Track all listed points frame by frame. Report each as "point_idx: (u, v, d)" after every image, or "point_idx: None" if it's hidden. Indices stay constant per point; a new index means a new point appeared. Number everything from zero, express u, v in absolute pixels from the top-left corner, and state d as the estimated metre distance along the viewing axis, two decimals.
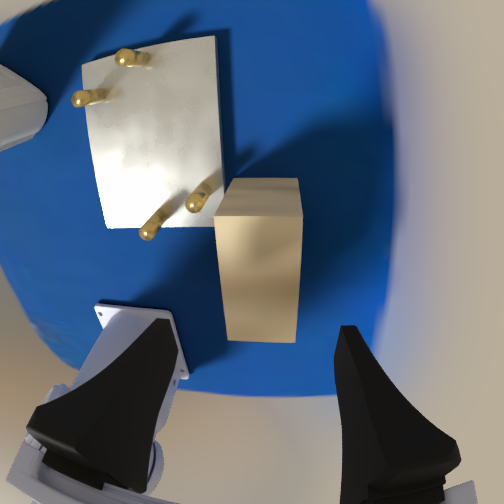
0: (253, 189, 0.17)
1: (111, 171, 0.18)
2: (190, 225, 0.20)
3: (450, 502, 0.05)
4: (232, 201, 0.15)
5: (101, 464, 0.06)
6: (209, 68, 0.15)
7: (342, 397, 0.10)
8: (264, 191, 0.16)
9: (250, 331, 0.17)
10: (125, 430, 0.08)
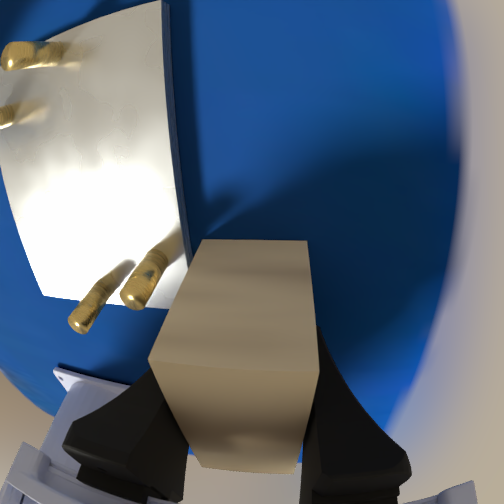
0: (231, 275, 0.10)
1: (33, 224, 0.11)
2: None
3: (450, 502, 0.05)
4: (188, 311, 0.08)
5: (148, 478, 0.06)
6: (151, 56, 0.08)
7: None
8: (248, 283, 0.09)
9: (231, 465, 0.10)
10: (167, 440, 0.08)
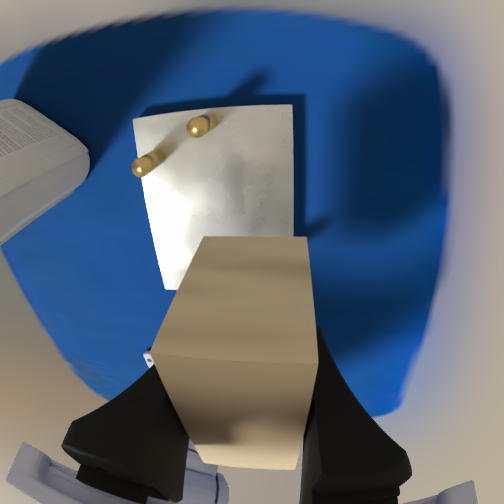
0: (231, 270, 0.10)
1: (173, 237, 0.19)
2: None
3: (450, 502, 0.05)
4: (189, 305, 0.08)
5: (147, 478, 0.06)
6: (286, 141, 0.15)
7: None
8: (249, 278, 0.09)
9: (233, 460, 0.10)
10: (167, 440, 0.08)
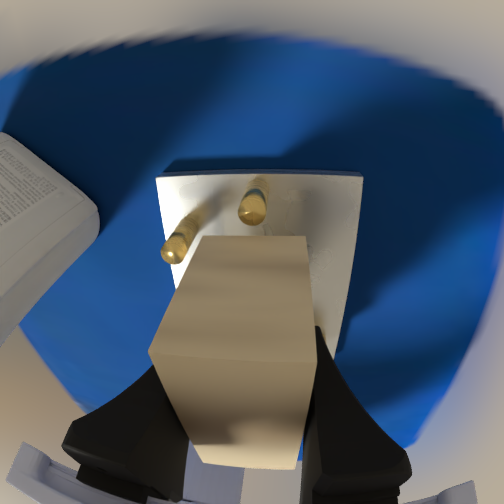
0: (230, 269, 0.10)
1: None
2: None
3: (450, 502, 0.05)
4: (187, 304, 0.08)
5: (147, 478, 0.06)
6: (350, 220, 0.13)
7: None
8: (247, 277, 0.09)
9: (232, 460, 0.10)
10: (167, 440, 0.08)
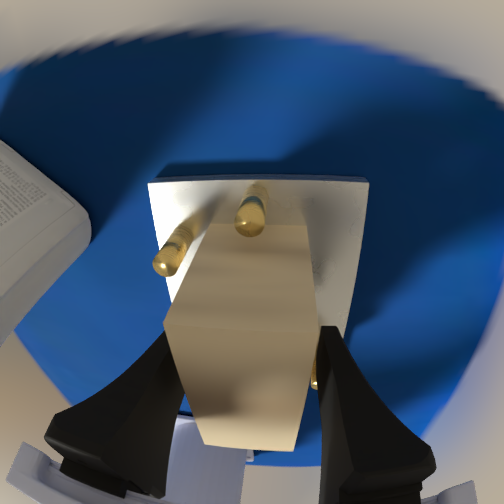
0: (237, 253, 0.11)
1: None
2: None
3: (450, 502, 0.05)
4: (198, 283, 0.09)
5: (125, 472, 0.06)
6: (354, 228, 0.12)
7: (322, 398, 0.10)
8: (253, 260, 0.10)
9: (234, 441, 0.11)
10: (147, 435, 0.08)
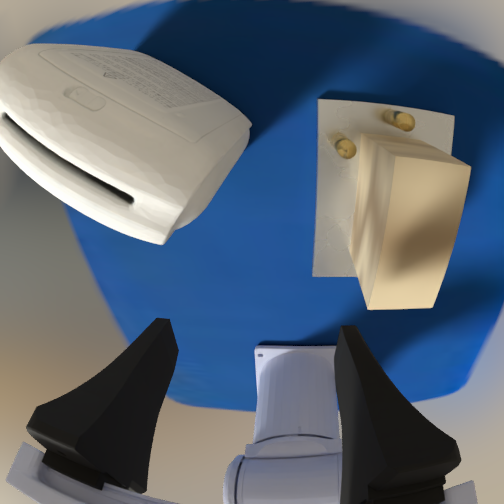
0: (397, 142, 0.14)
1: (337, 222, 0.19)
2: None
3: (450, 502, 0.05)
4: (392, 147, 0.12)
5: (101, 464, 0.06)
6: (447, 145, 0.15)
7: (342, 397, 0.10)
8: (410, 145, 0.13)
9: (396, 296, 0.14)
10: (125, 430, 0.08)
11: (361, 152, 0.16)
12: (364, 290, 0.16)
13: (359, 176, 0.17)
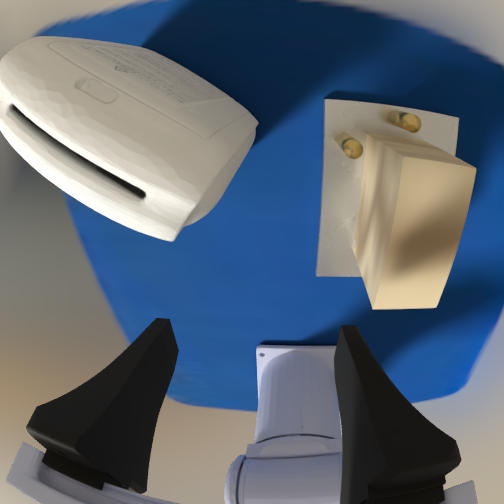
0: (403, 143, 0.14)
1: (342, 222, 0.19)
2: None
3: (450, 502, 0.05)
4: (399, 148, 0.12)
5: (101, 464, 0.06)
6: (451, 147, 0.15)
7: (342, 397, 0.10)
8: (416, 146, 0.13)
9: (400, 296, 0.14)
10: (125, 430, 0.08)
11: (367, 152, 0.16)
12: (369, 290, 0.16)
13: (364, 176, 0.17)
